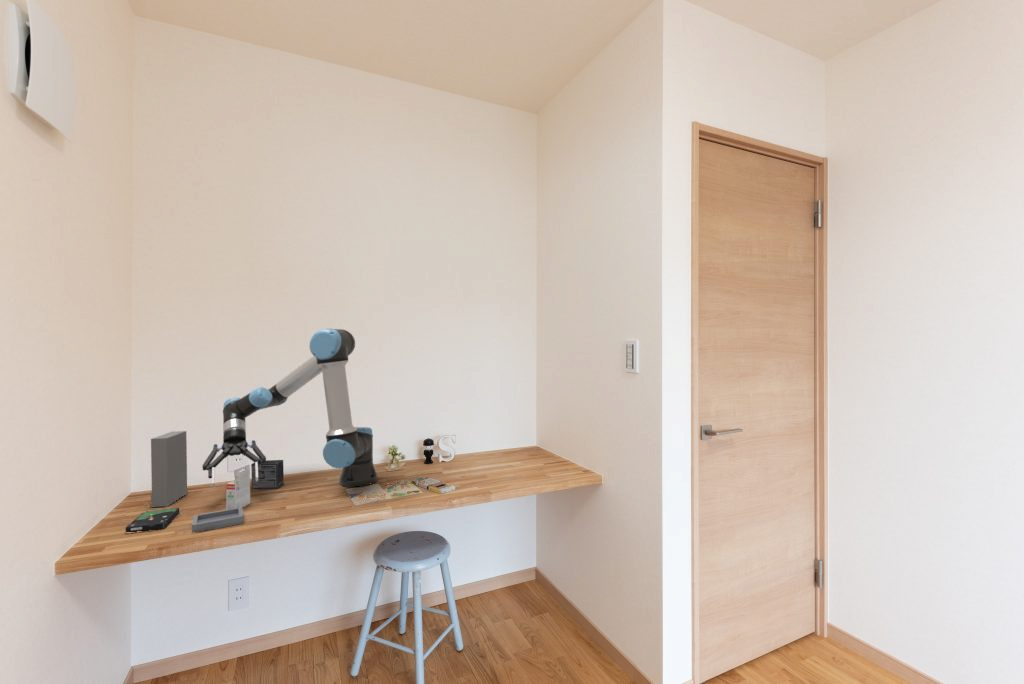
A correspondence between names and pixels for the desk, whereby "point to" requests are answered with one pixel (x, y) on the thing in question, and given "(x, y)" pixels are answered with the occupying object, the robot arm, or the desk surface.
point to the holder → (217, 519)
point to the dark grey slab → (168, 468)
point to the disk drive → (153, 520)
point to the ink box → (239, 489)
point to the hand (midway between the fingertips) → (235, 482)
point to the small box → (268, 475)
